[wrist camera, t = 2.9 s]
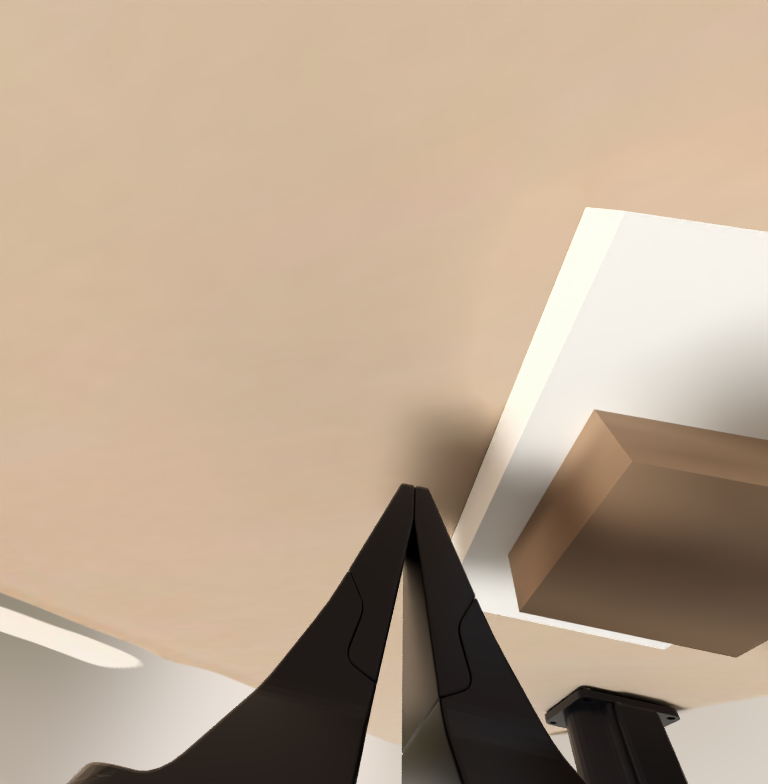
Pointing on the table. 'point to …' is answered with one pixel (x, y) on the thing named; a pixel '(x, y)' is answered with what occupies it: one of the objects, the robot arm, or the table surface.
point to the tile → (653, 536)
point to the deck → (622, 369)
